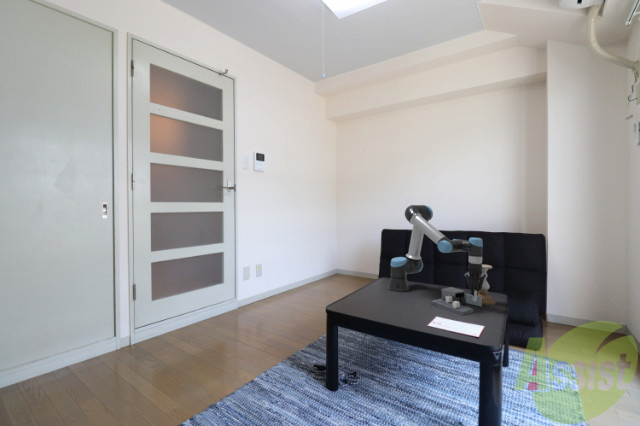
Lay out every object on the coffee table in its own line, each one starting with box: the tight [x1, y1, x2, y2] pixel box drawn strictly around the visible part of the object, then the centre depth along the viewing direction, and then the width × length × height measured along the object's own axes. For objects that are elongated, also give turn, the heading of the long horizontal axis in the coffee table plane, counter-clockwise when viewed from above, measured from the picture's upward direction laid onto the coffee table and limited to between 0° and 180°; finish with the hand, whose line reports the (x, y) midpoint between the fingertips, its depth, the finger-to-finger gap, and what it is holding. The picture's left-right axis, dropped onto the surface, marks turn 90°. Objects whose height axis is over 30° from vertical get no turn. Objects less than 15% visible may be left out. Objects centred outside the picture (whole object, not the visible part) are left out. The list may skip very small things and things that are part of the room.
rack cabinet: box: [440, 286, 466, 305], centre depth 187 cm, size 10×10×8 cm
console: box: [430, 298, 474, 316], centre depth 176 cm, size 22×10×2 cm, turn 29°
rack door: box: [464, 292, 483, 307], centre depth 181 cm, size 3×10×7 cm, turn 40°
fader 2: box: [453, 301, 461, 308], centre depth 171 cm, size 2×3×3 cm
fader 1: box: [446, 296, 452, 302], centre depth 181 cm, size 2×3×3 cm
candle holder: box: [478, 263, 496, 306], centre depth 188 cm, size 11×11×24 cm
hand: (474, 300), depth 178 cm, fingers closed
